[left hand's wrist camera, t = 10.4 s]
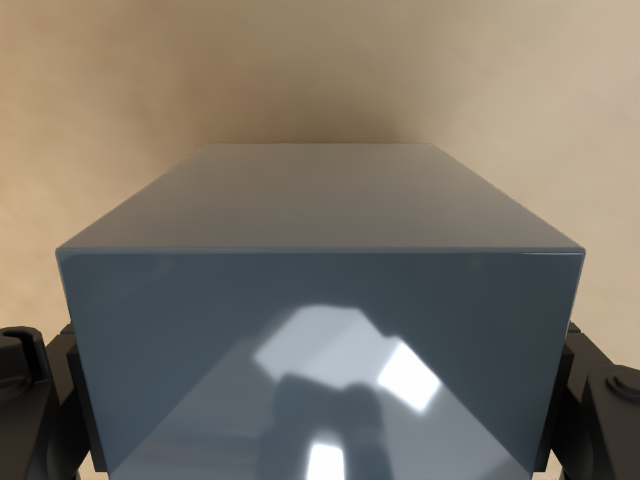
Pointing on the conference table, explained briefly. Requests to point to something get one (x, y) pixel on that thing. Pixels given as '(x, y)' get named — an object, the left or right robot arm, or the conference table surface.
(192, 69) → the conference table surface
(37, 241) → the conference table surface
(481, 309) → the grey rectangular block
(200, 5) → the conference table surface
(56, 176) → the conference table surface
